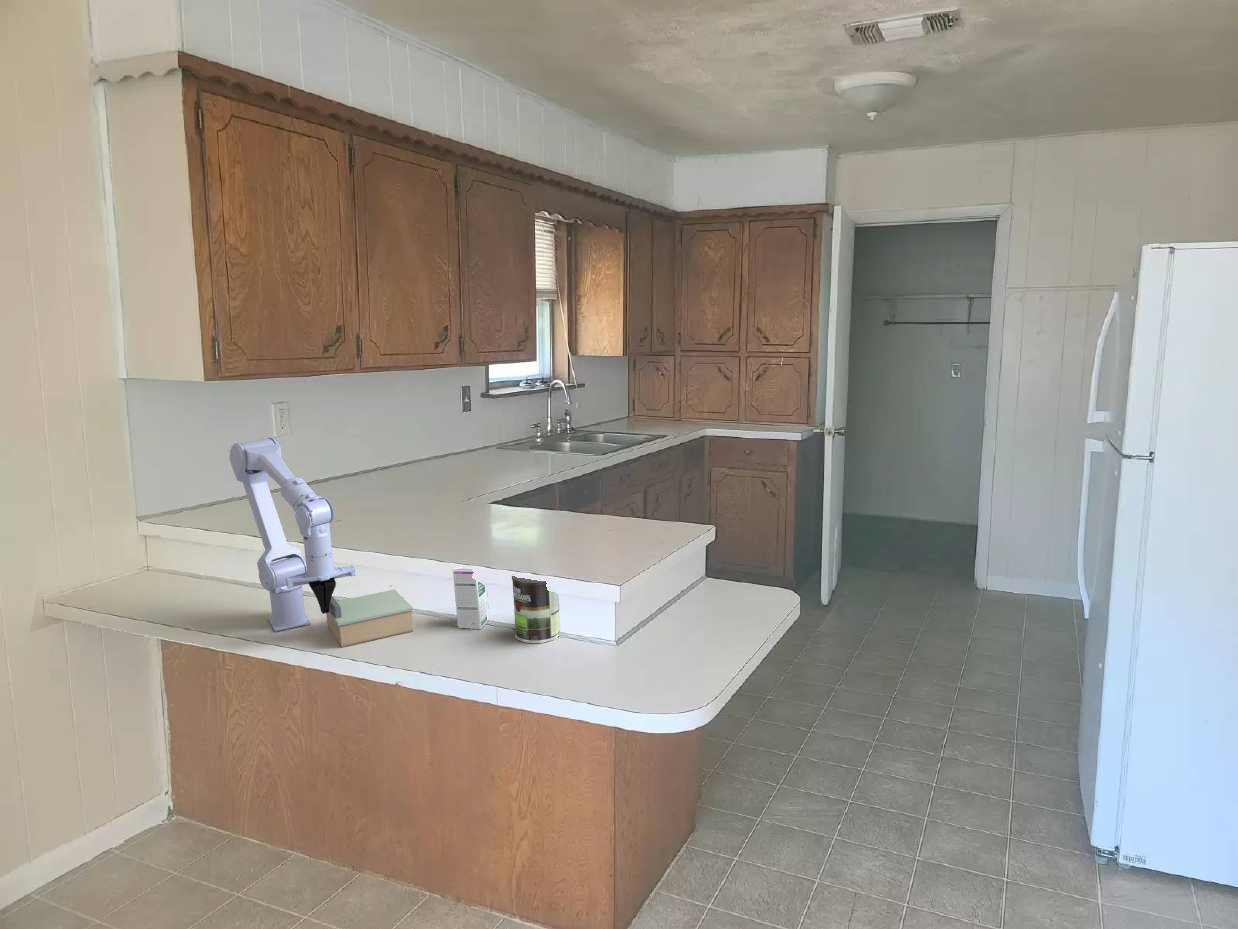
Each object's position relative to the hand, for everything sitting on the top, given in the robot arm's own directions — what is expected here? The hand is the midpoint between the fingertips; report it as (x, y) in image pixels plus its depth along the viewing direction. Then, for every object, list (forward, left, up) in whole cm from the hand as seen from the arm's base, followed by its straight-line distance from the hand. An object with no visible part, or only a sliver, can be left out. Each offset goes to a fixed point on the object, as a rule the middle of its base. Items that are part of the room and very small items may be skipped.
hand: (324, 611), depth 196 cm
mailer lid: (0, +9, -1) cm, 10 cm away
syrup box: (+11, +30, -7) cm, 33 cm away
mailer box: (0, +9, -6) cm, 11 cm away
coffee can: (+25, +40, -7) cm, 48 cm away
